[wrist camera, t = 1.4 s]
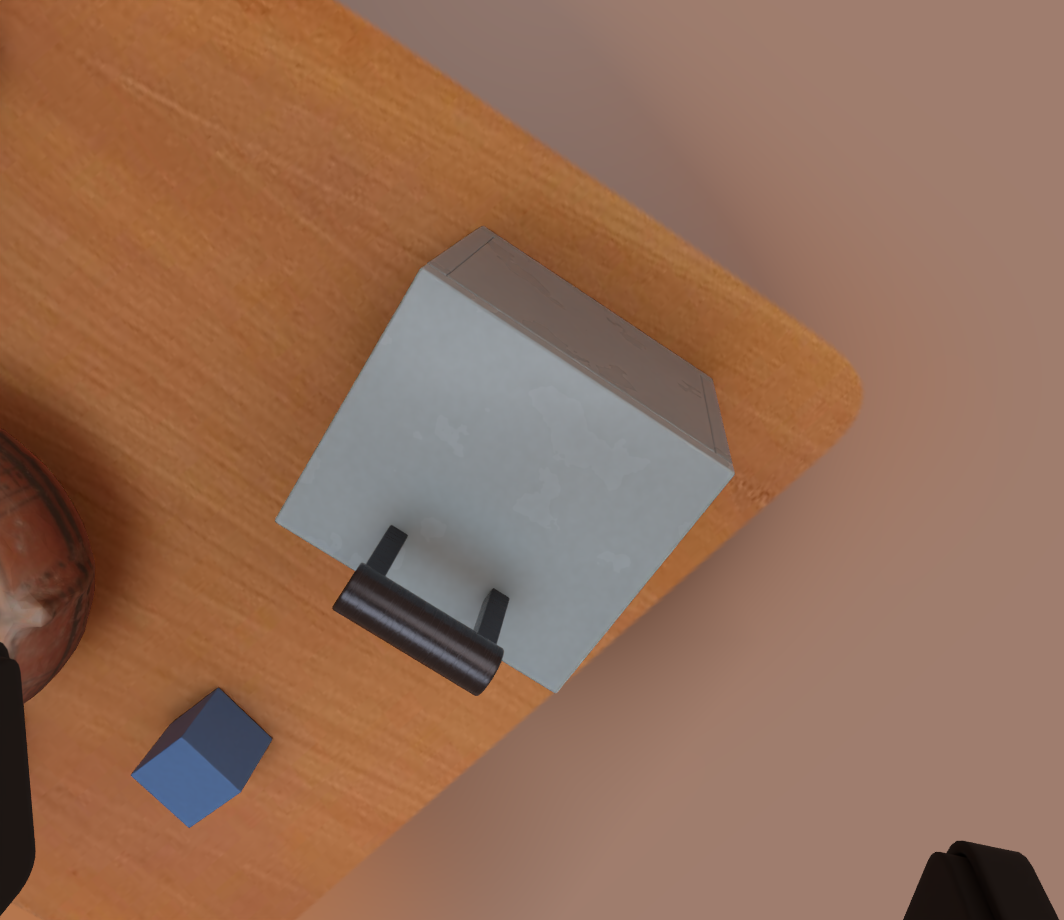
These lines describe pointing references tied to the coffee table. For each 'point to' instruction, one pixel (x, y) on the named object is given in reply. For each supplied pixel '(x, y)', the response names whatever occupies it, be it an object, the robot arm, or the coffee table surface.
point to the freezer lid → (493, 493)
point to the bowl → (40, 568)
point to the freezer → (587, 334)
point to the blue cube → (203, 758)
